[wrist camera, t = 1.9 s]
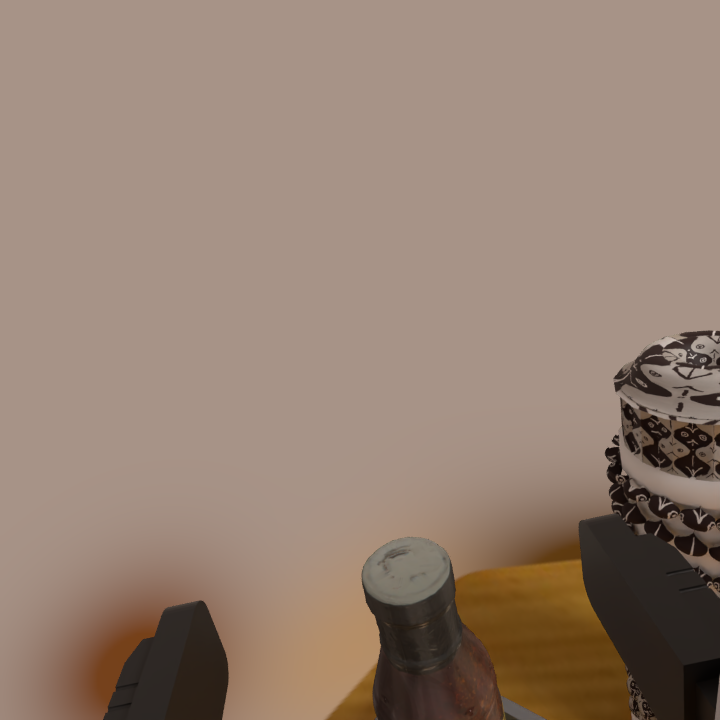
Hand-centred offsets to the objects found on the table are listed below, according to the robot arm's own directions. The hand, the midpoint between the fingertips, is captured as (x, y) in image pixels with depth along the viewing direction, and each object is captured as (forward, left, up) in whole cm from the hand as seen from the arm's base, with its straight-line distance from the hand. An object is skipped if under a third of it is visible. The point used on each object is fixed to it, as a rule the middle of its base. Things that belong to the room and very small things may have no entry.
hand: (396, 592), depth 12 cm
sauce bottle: (-8, -8, -29) cm, 31 cm away
